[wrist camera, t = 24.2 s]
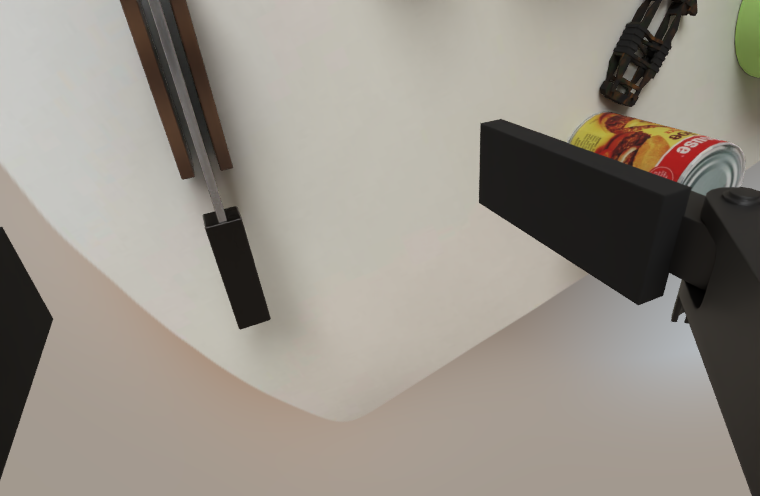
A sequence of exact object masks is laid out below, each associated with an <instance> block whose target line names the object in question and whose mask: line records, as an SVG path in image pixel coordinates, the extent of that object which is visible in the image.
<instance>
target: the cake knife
mask: <svg viewBox="0 0 760 496" xmlns="http://www.w3.org/2000/svg"><path fill="white" fill-rule="evenodd" d="M148 3H149V6H150V9H151V12H152V15H153V18H154V22H155V25H156V28H157V31H158V34H159V37H160V40H161V43H162V47H163V50H164V53H165V56H166V59H167V62H168V65H169V68H170V72H171V75H172V78H173V81H174V84H175V87H176V90H177V93H178V97H179V100H180V103H181V106H182V109H183V112H184V115H185V118H186V122H187V125H188V128H189V131H190V134H191V137H192V140H193V144H194V147H195V150H196V153H197V156H198V159H199V162H200V165H201V169H202V172H203V175H204V178H205V181H206V184H207V187H208V190H209V194H210V197H211V200H212V203H213V206H214V209H215V212H211V213H207V214H203V220H204V225H205V230H206V233H207V236H208V239H209V241H210V244H211V247H212V250H213V253H214V256H215V259H216V262H217V265H218V268H219V271H220V274H221V277H222V280H223V283H224V286H225V289H226V292H227V295H228V298H229V300H230V303H231V306H232V309H233V312H234V315H235V318H236V321H237V324H238V327H239V329H244V328H247V327H250V326H253V325H256V324H259V323H262V322H265V321H268V320H270V319H271V318H270V315H269V311H268V308H267V304H266V301H265V297H264V294H263V290H262V287H261V284H260V280H259V277H258V273H257V270H256V266H255V263H254V259H253V256H252V253H251V249H250V246H249V242H248V239H247V235H246V232H245V228H244V225H243V222H242V218H241V215H240V213H239V210H238V207H237V206H234V207H230V208H226V209H224V208H223V204H222V201H221V197H220V194H219V190H218V187H217V183H216V180H215V177H214V174H213V170H212V167H211V164H210V161H209V157H208V154H207V151H206V148H205V144H204V141H203V138H202V135H201V131H200V128H199V125H198V122H197V118H196V115H195V112H194V109H193V105H192V102H191V99H190V96H189V92H188V89H187V86H186V83H185V79H184V76H183V73H182V70H181V66H180V63H179V60H178V57H177V53H176V50H175V47H174V44H173V40H172V37H171V34H170V31H169V27H168V24H167V21H166V18H165V14H164V11H163V8H162V5H161V1H160V0H148Z"/></svg>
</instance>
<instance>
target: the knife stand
mask: <svg viewBox="0 0 760 496" xmlns="http://www.w3.org/2000/svg"><path fill="white" fill-rule="evenodd" d="M169 1H170V5H171V8H172V11H173V15H174V18H175V21H176V25H177V28H178V31H179V35H180V38H181V42H182V45H183V48H184V52H185V55H186V58H187V62H188V65H189V68H190V72H191V75H192V78H193V82H194V85H195V88H196V92H197V95H198V98H199V102H200V105H201V108H202V112H203V115H204V118H205V122H206V125H207V128H208V132H209V135H210V139H211V142H212V145H213V149H214V152H215V155H216V158H217V161H218V164H219V167H220V170H221V171H223V170H227V169H231V168H233V165H232V162H231V158H230V155H229V151H228V148H227V144H226V140H225V137H224V133H223V130H222V126H221V123H220V119H219V116H218V112H217V109H216V105H215V102H214V98H213V95H212V91H211V87H210V84H209V80H208V77H207V73H206V70H205V66H204V63H203V59H202V56H201V52H200V49H199V45H198V42H197V38H196V34H195V31H194V27H193V24H192V20H191V17H190V13H189V10H188V6H187V3H186V0H169ZM120 2H121V5H122V8H123V11H124V14H125V17H126V19H127V22H128V25H129V28H130V31H131V34H132V37H133V40H134V43H135V45H136V48H137V51H138V54H139V57H140V60H141V63H142V66H143V69H144V71H145V74H146V77H147V80H148V83H149V86H150V89H151V92H152V95H153V97H154V100H155V103H156V106H157V109H158V112H159V115H160V118H161V121H162V123H163V126H164V129H165V132H166V135H167V138H168V141H169V144H170V147H171V149H172V152H173V155H174V158H175V161H176V164H177V167H178V170H179V173H180V175H181V178H182V179H183V180H184V179H188V178H192V177H195V174H194V169H193V163H192V158H191V155H190V152H189V149H188V146H187V143H186V140H185V137H184V134H183V131H182V127H181V124H180V121H179V118H178V115H177V112H176V109H175V106H174V103H173V100H172V97H171V94H170V91H169V88H168V85H167V82H166V79H165V75H164V72H163V69H162V66H161V63H160V60H159V57H158V54H157V51H156V48H155V45H154V42H153V39H152V36H151V33H150V30H149V27H148V23H147V20H146V17H145V14H144V11H143V8H142V5H141V2H140V0H120Z"/></svg>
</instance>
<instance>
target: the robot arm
mask: <svg viewBox="0 0 760 496" xmlns="http://www.w3.org/2000/svg"><path fill="white" fill-rule="evenodd" d="M691 188H692V187H689V186H687V185H684V184H681V183H678V182H675V181H673V180H670V179H667V178H664V177H661V176H659V175H656V174H653V173H650V172H647V171H645V170H642V169H639V168H636V167H633V166H631V165H628V164H625V163H622V162H620V161H617V160H614V159H611V158H608V157H606V156H603V155H600V154H597V153H594V152H592V151H589V150H586V149H583V148H580V147H578V146H575V145H572V144H569V143H566V142H564V141H561V140H558V139H555V138H553V137H550V136H547V135H544V134H541V133H539V132H536V131H533V130H530V129H527V128H525V127H522V126H519V125H516V124H513V123H511V122H508V121H505V120H502V119H499V120H495V121H490V122H485V123H481V132H480V180H479V203H480V204H482V205H483V206H485V207H487V208H488V209H490V210H491V211H493V212H494V213H496V214H497V215H499V216H500V217H502V218H504V219H505V220H507V221H508V222H510V223H511V224H513V225H514V226H516V227H518V228H519V229H521V230H522V231H524V232H525V233H527V234H528V235H530V236H532V237H533V238H535V239H536V240H538V241H539V242H541V243H542V244H544V245H546V246H547V247H549V248H550V249H552V250H553V251H555V252H556V253H558V254H559V255H561V256H563V257H564V258H566V259H567V260H569V261H570V262H572V263H573V264H575V265H577V266H578V267H580V268H581V269H583V270H584V271H586V272H587V273H589V274H591V275H592V276H594V277H595V278H597V279H598V280H600V281H601V282H603V283H604V284H606V285H608V286H609V287H611V288H612V289H614V290H615V291H617V292H619V293H620V294H622V295H623V296H625V297H626V298H628V299H629V300H631V301H632V302H634V303H636V304H637V305H640V304H643V303H645V302H648V301H651V300H653V299H656V298H658V297H660V296H663V293H664V290H665V286H666V282H667V278H668V275H669V273H671V274H673V275H675V276H677V277H678V278H680V279H682V281H681V285H680V288H679V292H678V295H677V299H676V302H675V306H674V309H673V313H672V319H671V321H672V322H677V320H678V316H679V315H680V314H682V313H684V312H685V314H686V319H685V323H689V324H690V327H691V330H692V333H693V335H694V338H695V341H696V344H697V346H698V349H699V352H700V355H701V357H702V360H703V363H704V366H705V368H706V371H707V374H708V377H709V379H710V382H711V385H712V387H713V390H714V393H715V396H716V399H717V401H718V404H719V407H720V409H721V412H722V415H723V418H724V420H725V423H726V426H727V428H728V431H729V434H730V437H731V439H732V442H733V445H734V448H735V451H736V453H737V456H738V459H739V461H740V464H741V467H742V470H743V473H744V475H745V478H746V481H747V484H748V486H749V489H750V492H751V494H752V496H760V191H756V190H754V189H750V188H744V187H721V188H716V189H712V190H710V191H709V192H707V193H706V196H705V195H702V194H699V193H696V192H694V191H691ZM52 321H53V318H52V316H51V314H50V312H49V310H48V309H47V307H46V305H45V303H44V302H43V300H42V298H41V296H40V294H39V293H38V291H37V289H36V287H35V285H34V283H33V282H32V280H31V278H30V276H29V274H28V272H27V271H26V269H25V267H24V265H23V264H22V262H21V260H20V258H19V256H18V254H17V253H16V251H15V249H14V247H13V245H12V244H11V242H10V240H9V238H8V237H7V235H6V233H5V231H4V229H3V227H0V479H1V476H2V473H3V470H4V467H5V464H6V461H7V458H8V455H9V452H10V449H11V446H12V442H13V440H14V437H15V433H16V430H17V427H18V424H19V421H20V418H21V415H22V412H23V409H24V406H25V403H26V400H27V397H28V394H29V391H30V388H31V385H32V382H33V379H34V376H35V373H36V369H37V366H38V364H39V361H40V358H41V354H42V351H43V348H44V345H45V342H46V339H47V336H48V333H49V330H50V327H51V324H52Z"/></svg>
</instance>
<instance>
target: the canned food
mask: <svg viewBox="0 0 760 496" xmlns="http://www.w3.org/2000/svg"><path fill="white" fill-rule="evenodd" d="M569 144H572V145H575V146H578V147H580V148H583V149H586V150H589V151H592V152H594V153H597V154H600V155H603V156H606V157H608V158H611V159H614V160H617V161H620V162H622V163H625V164H628V165H631V166H633V167H636V168H639V169H642V170H645V171H647V172H650V173H653V174H656V175H659V176H661V177H664V178H667V179H670V180H673V181H675V182H678V183H681V184H684V185H687V186H689V187H692V188H691V191H694V192H696V193H699V194H702V195H705V196H706V193H707V192H709V191H710V190H712V189H716V188H721V187H741V184H742V181H743V177H744V173H745V157H744V153H743V151H742V150H741V149H740V147H739V146H738V145H735V144H733V143H730V142H726V141H722V140H718V139H715V138H711V137H707V136H703V135H699V134H695V133H691V132H687V131H683V130H679V129H675V128H671V127H667V126H663V125H659V124H655V123H651V122H647V121H643V120H639V119H636V118H632V117H628V116H624V115H620V114H616V113H612V112H601V113H598V114H595V115H593V116H591V117H590V118H588V119H587V120H585V121H584V122H583V123H582V124H581V125H580V126H579V127H578V128H577V130H576V131H575V132H574V134H573V135H572V137H571V138H570V141H569Z"/></svg>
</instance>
